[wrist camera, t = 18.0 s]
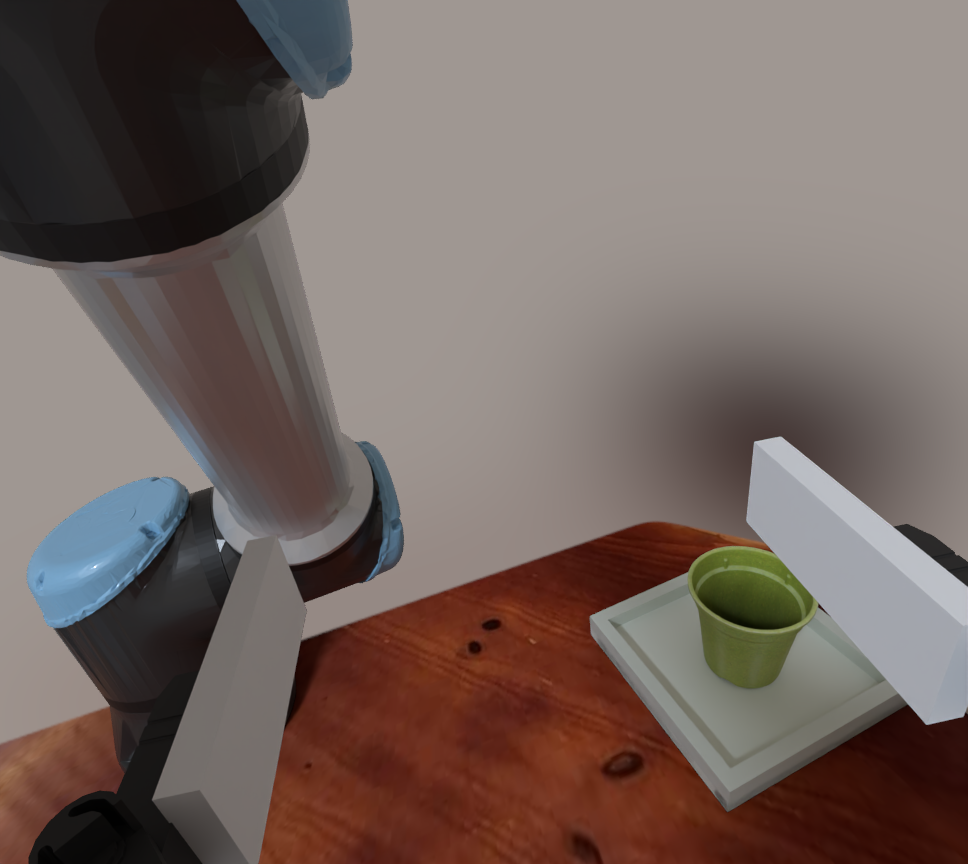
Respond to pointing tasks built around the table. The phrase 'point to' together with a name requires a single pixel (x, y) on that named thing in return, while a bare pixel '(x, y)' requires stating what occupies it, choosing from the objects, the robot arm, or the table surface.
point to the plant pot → (748, 612)
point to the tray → (742, 692)
